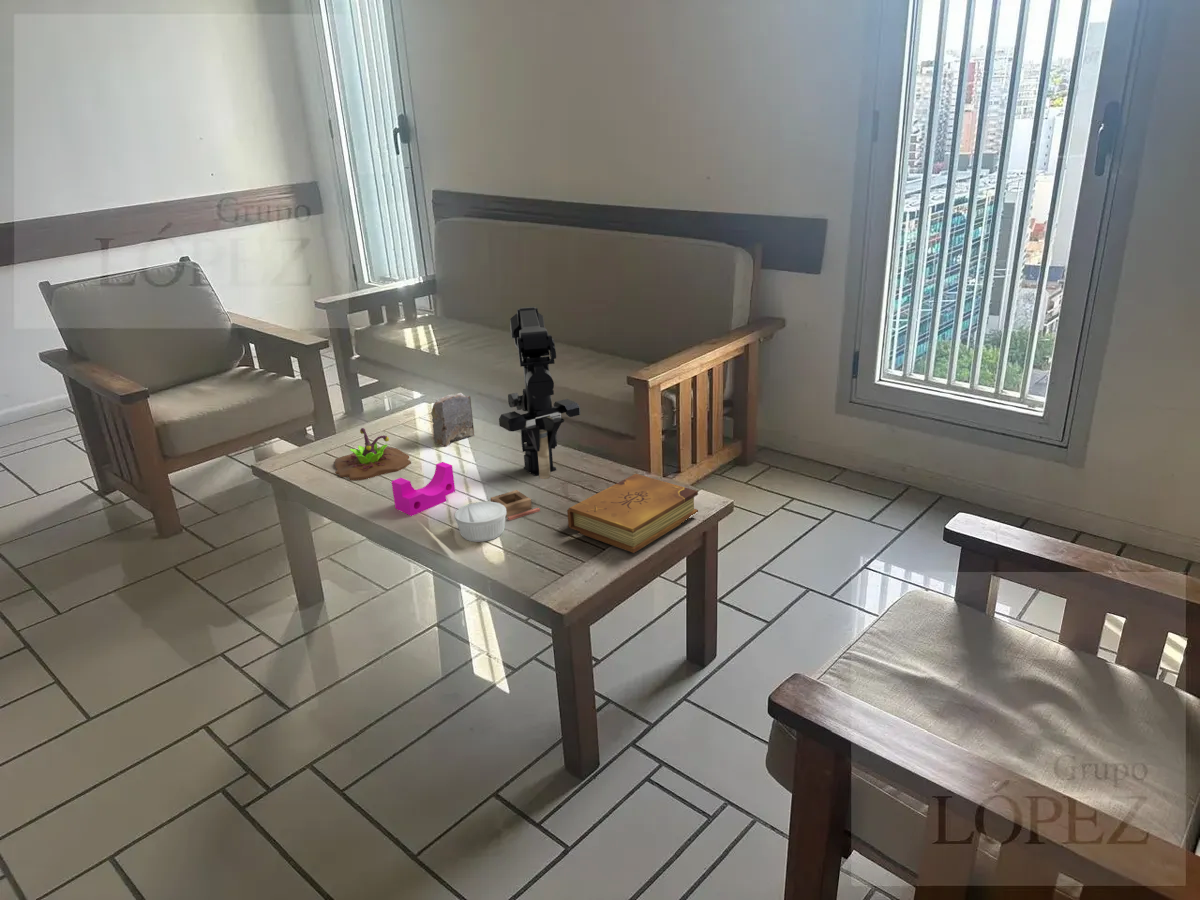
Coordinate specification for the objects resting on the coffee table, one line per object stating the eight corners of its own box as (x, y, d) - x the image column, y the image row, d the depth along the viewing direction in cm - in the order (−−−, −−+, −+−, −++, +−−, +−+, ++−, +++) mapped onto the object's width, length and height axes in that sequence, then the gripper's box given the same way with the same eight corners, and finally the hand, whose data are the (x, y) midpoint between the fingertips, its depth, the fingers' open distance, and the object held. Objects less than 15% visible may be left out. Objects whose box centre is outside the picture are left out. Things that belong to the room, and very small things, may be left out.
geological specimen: (463, 436, 247) (458, 387, 242) (477, 440, 243) (471, 390, 238) (434, 447, 240) (427, 396, 234) (447, 451, 236) (441, 400, 230)
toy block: (411, 517, 197) (407, 487, 194) (395, 510, 201) (391, 481, 198) (461, 495, 207) (458, 467, 204) (446, 489, 211) (442, 461, 208)
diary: (634, 494, 203) (633, 472, 201) (698, 514, 191) (697, 490, 189) (568, 529, 187) (566, 505, 185) (633, 553, 175) (632, 528, 173)
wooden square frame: (521, 498, 203) (520, 488, 202) (540, 511, 196) (539, 501, 195) (491, 507, 199) (490, 497, 198) (509, 520, 192) (508, 510, 191)
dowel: (547, 474, 202) (543, 428, 198) (552, 477, 200) (549, 431, 196) (537, 476, 201) (533, 431, 197) (542, 480, 199) (539, 434, 195)
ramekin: (446, 535, 187) (443, 513, 185) (485, 517, 194) (482, 496, 192) (479, 549, 179) (477, 527, 178) (518, 530, 187) (516, 509, 185)
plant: (396, 450, 240) (390, 413, 236) (420, 471, 224) (414, 431, 220) (325, 466, 231) (318, 428, 227) (344, 489, 215) (337, 448, 211)
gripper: (555, 371, 204) (559, 432, 209) (485, 386, 195) (491, 449, 200) (579, 380, 195) (583, 443, 201) (507, 396, 186) (513, 462, 191)
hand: (542, 449), depth 198 cm, fingers closed on dowel, 3 cm apart
